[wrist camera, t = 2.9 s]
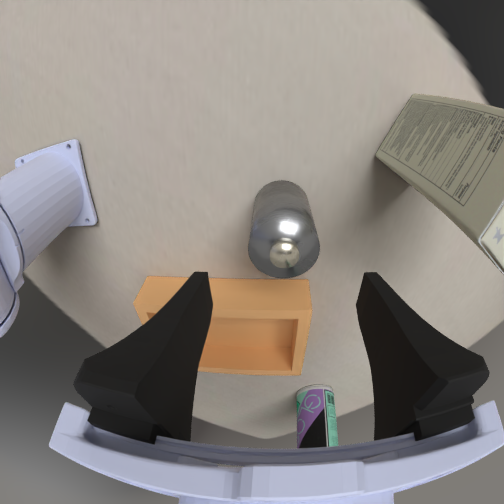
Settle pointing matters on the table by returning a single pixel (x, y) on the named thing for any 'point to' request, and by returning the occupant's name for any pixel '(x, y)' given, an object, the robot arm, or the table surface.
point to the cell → (283, 231)
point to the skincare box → (454, 163)
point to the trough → (244, 322)
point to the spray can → (316, 417)
